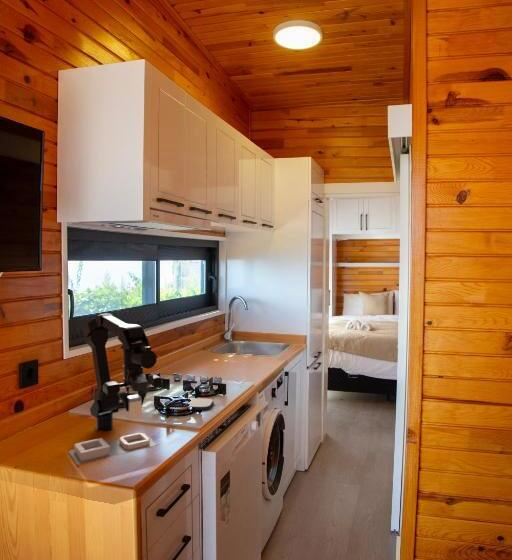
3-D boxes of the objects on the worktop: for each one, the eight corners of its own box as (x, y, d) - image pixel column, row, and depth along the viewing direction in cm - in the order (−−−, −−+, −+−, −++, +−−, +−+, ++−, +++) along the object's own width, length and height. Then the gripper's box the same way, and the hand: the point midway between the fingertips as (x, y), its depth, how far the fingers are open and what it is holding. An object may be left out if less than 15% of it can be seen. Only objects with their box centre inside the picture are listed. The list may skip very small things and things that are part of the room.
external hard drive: (153, 410, 202) (152, 405, 202) (161, 401, 214) (161, 397, 213) (209, 412, 200) (209, 407, 200) (214, 403, 211) (214, 398, 211)
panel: (68, 453, 159) (67, 443, 159) (145, 436, 173) (145, 426, 173) (77, 467, 149) (77, 456, 149) (158, 447, 163) (158, 437, 163)
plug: (126, 416, 165) (125, 396, 164) (137, 414, 167) (137, 394, 166) (130, 420, 161) (129, 399, 161) (141, 417, 164) (141, 397, 163)
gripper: (112, 372, 151) (113, 422, 152) (168, 364, 161) (169, 410, 162) (101, 365, 160) (103, 412, 161) (155, 358, 171) (156, 402, 172)
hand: (133, 409), depth 164 cm, fingers closed on plug, 4 cm apart
